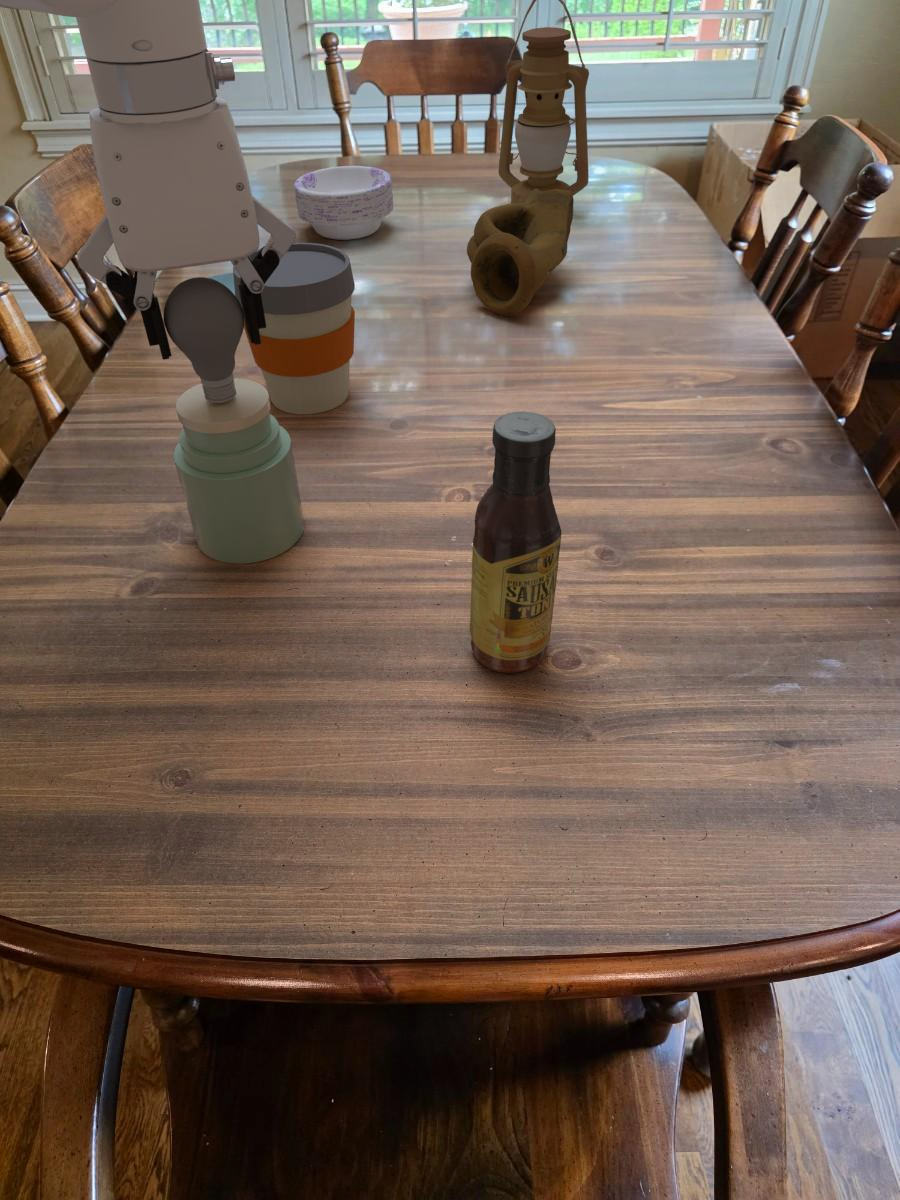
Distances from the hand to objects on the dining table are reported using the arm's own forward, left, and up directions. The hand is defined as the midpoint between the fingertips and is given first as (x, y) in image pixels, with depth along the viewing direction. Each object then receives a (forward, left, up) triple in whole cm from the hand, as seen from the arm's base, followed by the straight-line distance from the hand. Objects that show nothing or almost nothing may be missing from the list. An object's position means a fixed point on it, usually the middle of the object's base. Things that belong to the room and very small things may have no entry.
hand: (209, 342), depth 68 cm
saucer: (-32, +41, -19) cm, 55 cm away
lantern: (-8, +93, -19) cm, 95 cm away
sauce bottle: (+28, -4, -19) cm, 34 cm away
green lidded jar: (0, 0, -19) cm, 19 cm away
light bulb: (0, 0, -5) cm, 5 cm away
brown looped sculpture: (0, +64, -19) cm, 67 cm away
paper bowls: (-33, +72, -19) cm, 81 cm away
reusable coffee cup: (-9, +24, -19) cm, 32 cm away
